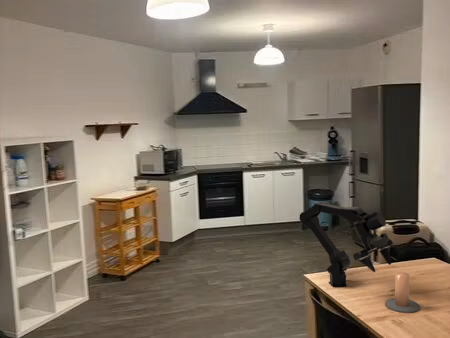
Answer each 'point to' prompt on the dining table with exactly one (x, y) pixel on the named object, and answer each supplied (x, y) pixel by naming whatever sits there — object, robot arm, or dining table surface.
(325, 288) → the dining table surface
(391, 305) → the mat
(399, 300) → the tan rounded cylinder
